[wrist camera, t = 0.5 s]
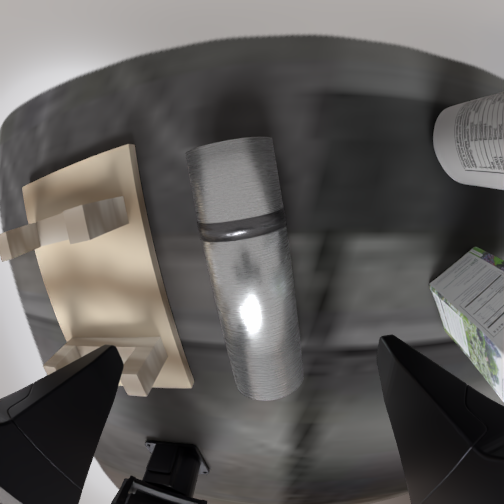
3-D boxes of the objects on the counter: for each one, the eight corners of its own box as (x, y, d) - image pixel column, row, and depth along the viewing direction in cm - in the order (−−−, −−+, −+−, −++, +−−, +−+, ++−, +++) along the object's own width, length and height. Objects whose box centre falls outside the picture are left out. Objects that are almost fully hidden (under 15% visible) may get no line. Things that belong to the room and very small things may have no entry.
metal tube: (301, 353, 22) (307, 396, 17) (239, 360, 23) (231, 403, 18) (272, 142, 18) (273, 132, 13) (197, 156, 18) (172, 152, 14)
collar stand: (194, 381, 23) (177, 429, 18) (91, 376, 25) (63, 412, 19) (134, 144, 18) (87, 138, 13) (29, 186, 20) (-19, 194, 14)
